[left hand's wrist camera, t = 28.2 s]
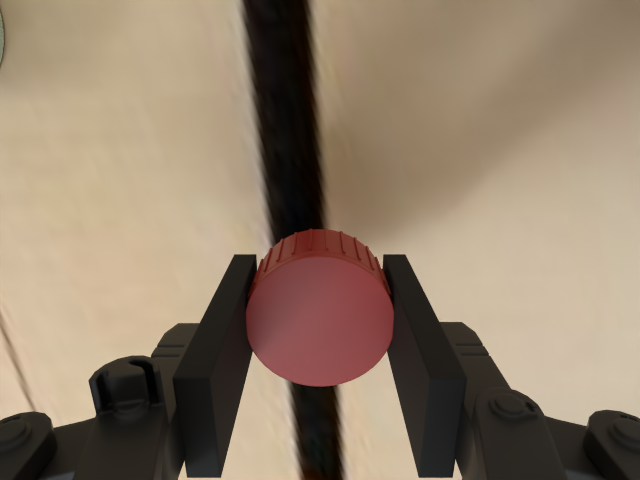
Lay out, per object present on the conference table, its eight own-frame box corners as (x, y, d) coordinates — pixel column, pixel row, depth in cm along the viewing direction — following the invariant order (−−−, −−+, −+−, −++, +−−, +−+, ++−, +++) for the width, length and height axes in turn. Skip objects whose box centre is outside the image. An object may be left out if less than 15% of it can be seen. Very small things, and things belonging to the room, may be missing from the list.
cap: (367, 353, 16) (375, 398, 13) (245, 332, 15) (233, 375, 13) (400, 241, 14) (416, 271, 12) (265, 214, 14) (255, 240, 12)
